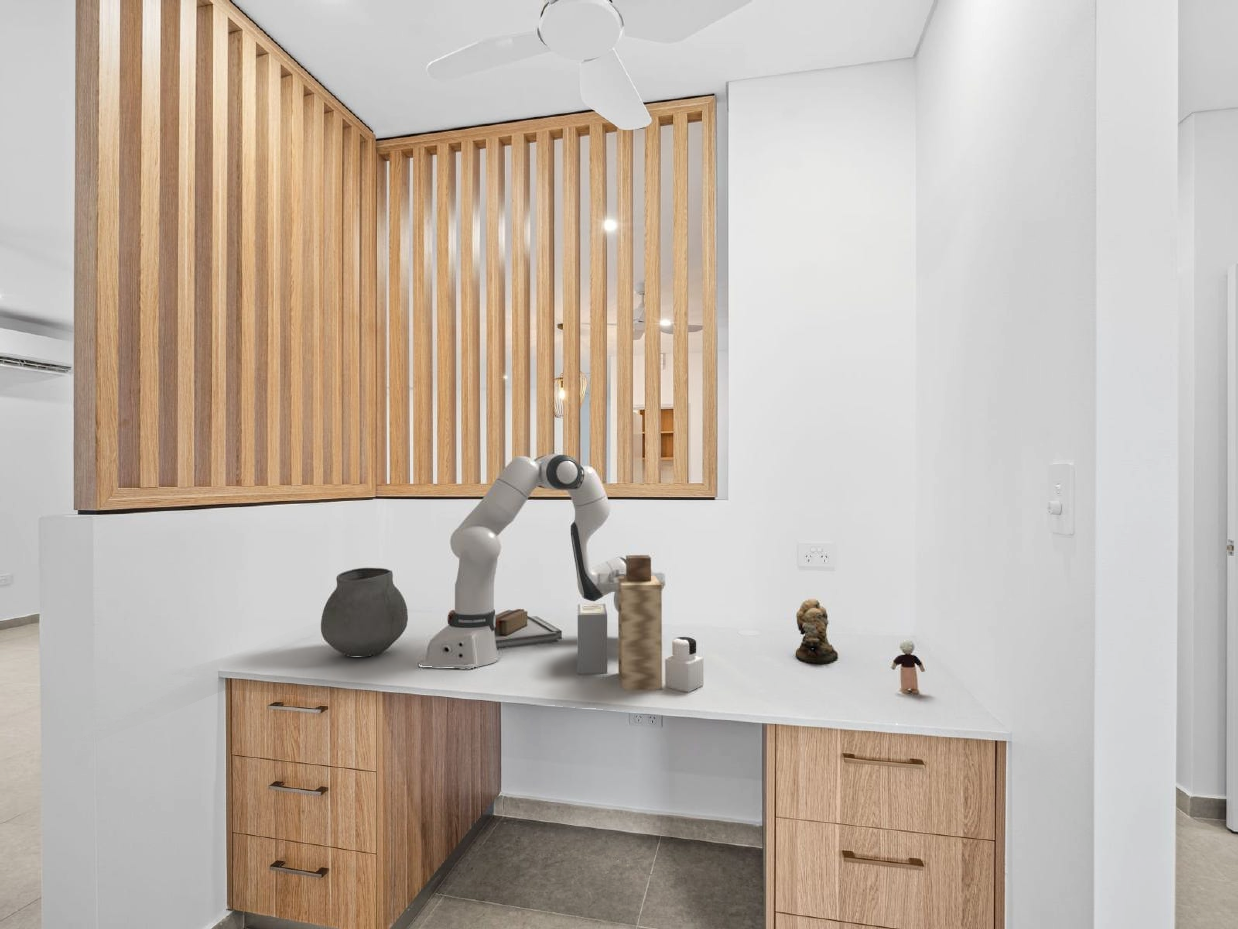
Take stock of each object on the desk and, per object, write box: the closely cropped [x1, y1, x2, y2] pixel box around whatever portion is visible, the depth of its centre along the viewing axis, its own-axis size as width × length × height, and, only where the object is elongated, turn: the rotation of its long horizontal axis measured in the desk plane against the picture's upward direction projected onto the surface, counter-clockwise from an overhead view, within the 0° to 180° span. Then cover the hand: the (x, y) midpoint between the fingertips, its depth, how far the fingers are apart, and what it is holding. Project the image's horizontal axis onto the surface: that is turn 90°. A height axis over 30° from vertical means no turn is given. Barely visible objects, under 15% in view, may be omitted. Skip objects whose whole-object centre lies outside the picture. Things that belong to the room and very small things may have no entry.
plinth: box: [577, 603, 608, 675], centre depth 177 cm, size 8×14×16 cm, turn 4°
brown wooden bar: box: [625, 554, 652, 582], centre depth 172 cm, size 6×18×6 cm, turn 4°
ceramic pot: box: [320, 567, 409, 657], centre depth 190 cm, size 24×24×25 cm
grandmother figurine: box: [890, 639, 926, 694], centre depth 155 cm, size 8×4×13 cm, turn 92°
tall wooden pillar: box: [617, 576, 663, 691], centre depth 164 cm, size 10×14×26 cm
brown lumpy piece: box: [795, 598, 839, 665], centre depth 186 cm, size 18×12×17 cm, turn 159°
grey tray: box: [494, 608, 563, 650], centre depth 212 cm, size 30×30×8 cm
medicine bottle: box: [664, 636, 704, 693], centre depth 160 cm, size 7×7×12 cm
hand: (632, 571), depth 182 cm, fingers open, 8 cm apart
